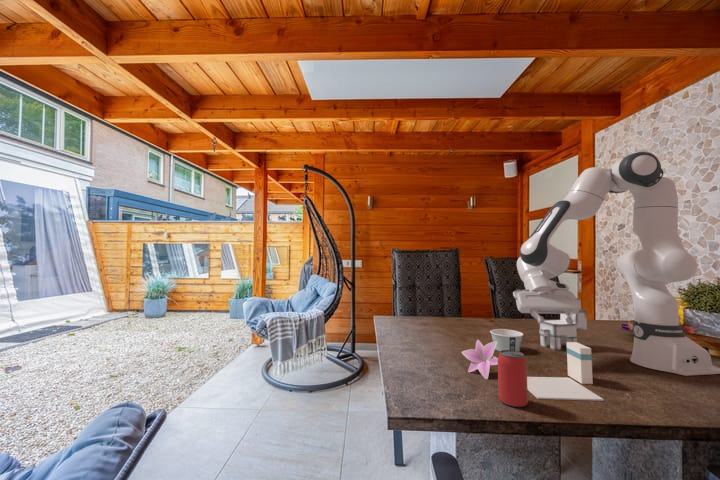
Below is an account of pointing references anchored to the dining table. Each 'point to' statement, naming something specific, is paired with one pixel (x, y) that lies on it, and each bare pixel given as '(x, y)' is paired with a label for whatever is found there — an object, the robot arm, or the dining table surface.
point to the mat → (559, 389)
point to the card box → (579, 362)
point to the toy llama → (562, 330)
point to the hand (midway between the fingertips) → (556, 322)
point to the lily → (481, 357)
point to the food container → (507, 339)
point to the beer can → (512, 378)
